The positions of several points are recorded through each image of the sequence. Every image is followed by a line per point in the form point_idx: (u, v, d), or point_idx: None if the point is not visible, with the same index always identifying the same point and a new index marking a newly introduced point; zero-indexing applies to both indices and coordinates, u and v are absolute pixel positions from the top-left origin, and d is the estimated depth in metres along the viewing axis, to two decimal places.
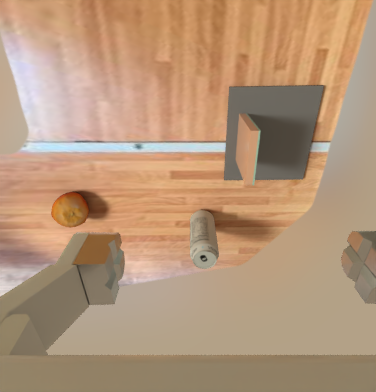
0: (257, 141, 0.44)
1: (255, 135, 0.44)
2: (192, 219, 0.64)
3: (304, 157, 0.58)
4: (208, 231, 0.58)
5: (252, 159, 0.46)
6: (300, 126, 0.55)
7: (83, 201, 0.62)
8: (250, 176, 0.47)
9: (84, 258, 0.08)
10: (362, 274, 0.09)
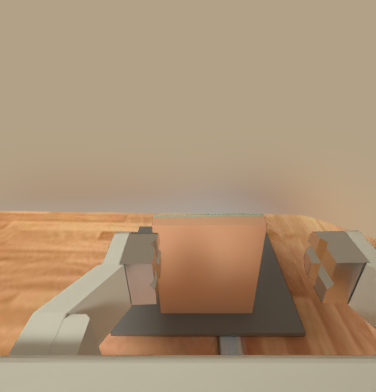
0: (173, 216, 0.24)
1: (161, 219, 0.24)
2: None
3: None
4: None
5: (208, 219, 0.24)
6: None
7: None
8: (245, 219, 0.24)
9: (130, 258, 0.08)
10: (320, 274, 0.09)
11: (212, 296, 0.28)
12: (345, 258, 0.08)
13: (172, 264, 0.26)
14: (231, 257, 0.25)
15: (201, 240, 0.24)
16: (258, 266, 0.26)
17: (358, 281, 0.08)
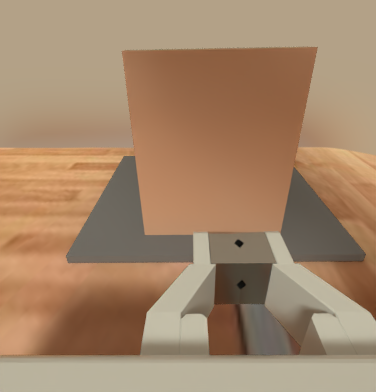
0: (159, 49, 0.15)
1: None
2: None
3: None
4: None
5: (217, 48, 0.14)
6: None
7: None
8: None
9: (219, 257, 0.08)
10: None
11: (221, 202, 0.18)
12: (254, 258, 0.08)
13: (159, 138, 0.16)
14: (254, 122, 0.15)
15: (205, 85, 0.14)
16: (296, 141, 0.16)
17: (269, 281, 0.08)
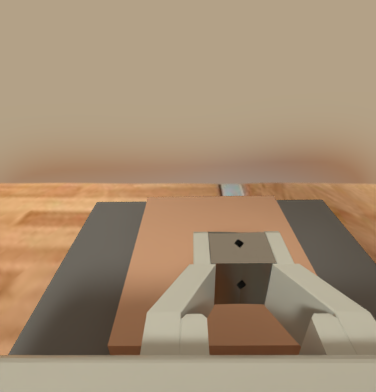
0: None
1: None
2: None
3: None
4: None
5: None
6: None
7: None
8: None
9: (219, 257, 0.08)
10: None
11: None
12: (254, 258, 0.08)
13: (162, 233, 0.17)
14: (247, 224, 0.18)
15: (203, 208, 0.20)
16: (292, 234, 0.17)
17: (269, 281, 0.08)
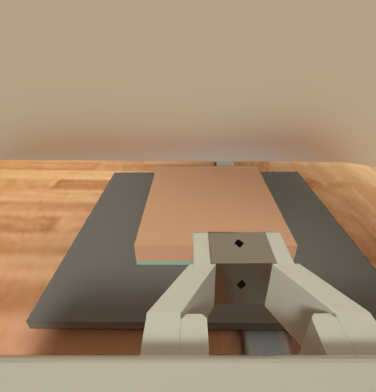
0: None
1: None
2: None
3: None
4: None
5: None
6: None
7: None
8: None
9: (219, 257, 0.08)
10: None
11: (220, 219, 0.19)
12: (254, 259, 0.08)
13: (169, 188, 0.23)
14: (233, 183, 0.23)
15: (200, 173, 0.25)
16: (267, 189, 0.22)
17: (269, 281, 0.08)
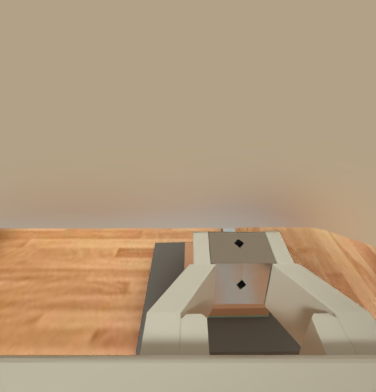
0: None
1: None
2: None
3: None
4: None
5: None
6: None
7: None
8: None
9: (219, 257, 0.08)
10: None
11: None
12: (254, 259, 0.08)
13: None
14: None
15: None
16: None
17: (269, 281, 0.08)
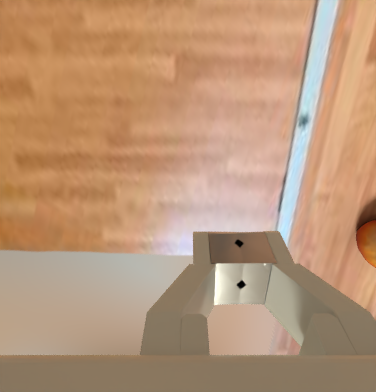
0: None
1: None
2: None
3: None
4: None
5: None
6: None
7: None
8: None
9: (219, 257, 0.08)
10: None
11: None
12: (254, 259, 0.08)
13: None
14: None
15: None
16: None
17: (269, 281, 0.08)
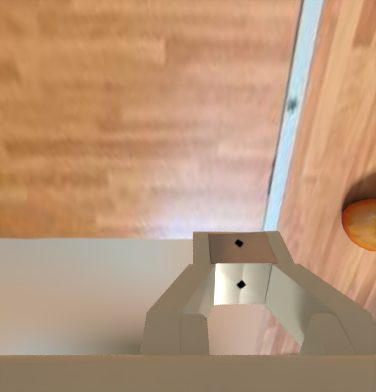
0: None
1: None
2: None
3: None
4: None
5: None
6: None
7: (364, 203, 0.39)
8: None
9: (219, 257, 0.08)
10: None
11: None
12: (254, 258, 0.08)
13: None
14: None
15: None
16: None
17: (269, 281, 0.08)
